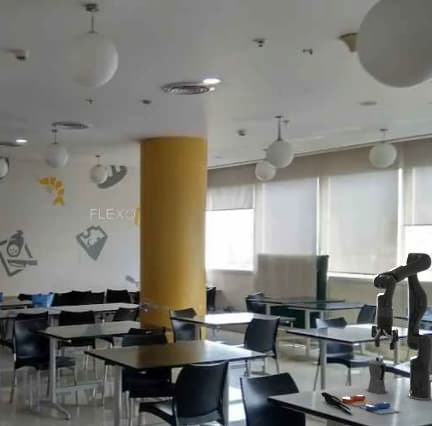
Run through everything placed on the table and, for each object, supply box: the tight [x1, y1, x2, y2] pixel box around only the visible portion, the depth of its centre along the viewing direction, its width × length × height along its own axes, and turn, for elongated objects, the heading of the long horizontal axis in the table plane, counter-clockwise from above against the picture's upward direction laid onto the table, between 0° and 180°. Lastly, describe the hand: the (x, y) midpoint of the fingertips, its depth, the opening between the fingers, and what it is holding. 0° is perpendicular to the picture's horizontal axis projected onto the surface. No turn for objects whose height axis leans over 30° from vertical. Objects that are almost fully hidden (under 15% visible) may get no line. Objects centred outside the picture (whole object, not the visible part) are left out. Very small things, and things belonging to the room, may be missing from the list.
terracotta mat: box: [335, 397, 375, 407], centre depth 306 cm, size 12×14×1 cm
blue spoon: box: [365, 402, 391, 412], centre depth 292 cm, size 14×5×3 cm, turn 114°
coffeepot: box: [367, 357, 387, 394], centre depth 330 cm, size 15×9×18 cm, turn 178°
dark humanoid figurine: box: [320, 391, 352, 415], centre depth 294 cm, size 8×9×25 cm
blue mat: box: [359, 406, 399, 415], centre depth 292 cm, size 12×12×1 cm
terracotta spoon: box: [341, 394, 366, 404], centre depth 305 cm, size 14×5×3 cm, turn 114°
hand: (384, 348), depth 304 cm, fingers open, 8 cm apart
